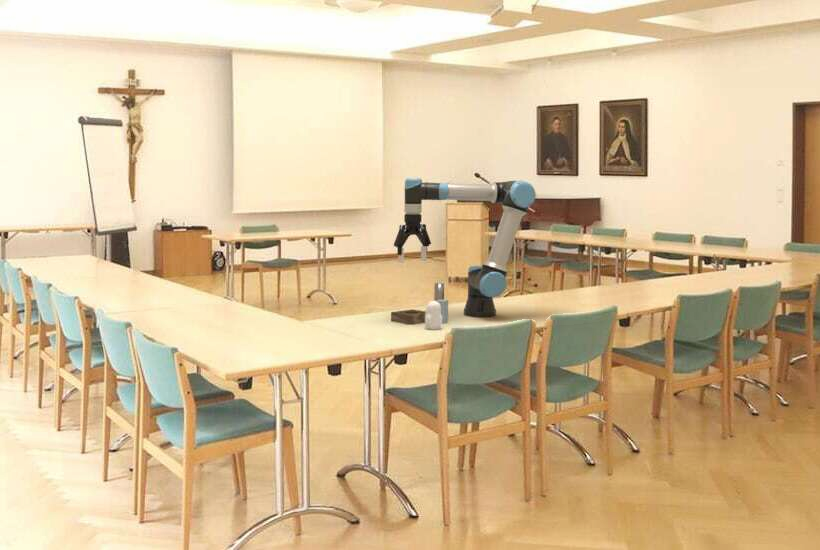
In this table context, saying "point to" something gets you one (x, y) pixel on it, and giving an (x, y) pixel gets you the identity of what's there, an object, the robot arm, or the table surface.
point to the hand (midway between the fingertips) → (412, 261)
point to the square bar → (444, 310)
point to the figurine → (433, 316)
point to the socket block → (408, 316)
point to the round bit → (439, 291)
